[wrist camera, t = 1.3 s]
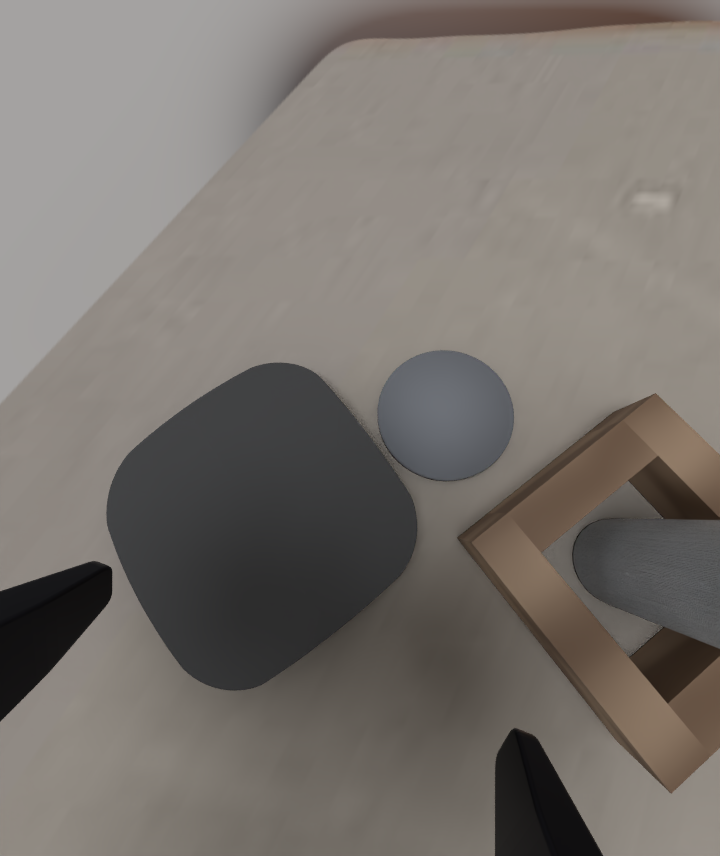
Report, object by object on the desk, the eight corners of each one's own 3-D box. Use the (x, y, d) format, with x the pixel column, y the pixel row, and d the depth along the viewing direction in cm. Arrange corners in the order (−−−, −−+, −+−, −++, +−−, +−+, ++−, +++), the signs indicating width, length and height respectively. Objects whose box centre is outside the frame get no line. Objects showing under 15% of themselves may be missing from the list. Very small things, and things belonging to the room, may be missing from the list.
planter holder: (786, 587, 19) (873, 602, 16) (617, 741, 18) (670, 793, 15) (613, 412, 22) (655, 393, 18) (457, 537, 21) (471, 542, 17)
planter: (581, 506, 21) (764, 499, 11) (665, 535, 20) (944, 554, 10) (563, 587, 20) (745, 661, 10) (651, 619, 19) (940, 733, 9)
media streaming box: (231, 704, 20) (205, 736, 17) (111, 486, 23) (72, 482, 20) (442, 537, 21) (451, 541, 18) (300, 353, 24) (289, 331, 22)
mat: (538, 426, 22) (543, 424, 21) (434, 508, 21) (435, 508, 21) (451, 331, 24) (452, 326, 23) (352, 404, 23) (351, 401, 22)
